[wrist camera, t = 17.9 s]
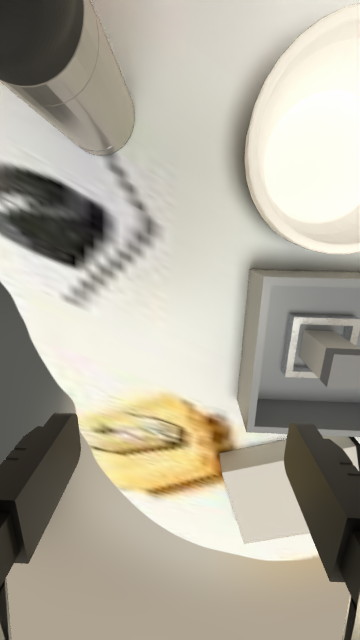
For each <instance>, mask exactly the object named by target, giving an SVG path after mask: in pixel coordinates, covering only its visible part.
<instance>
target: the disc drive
mask: <svg viewBox="0 0 360 640" xmlns="http://www.w3.org/2000/svg"><path fill="white" fill-rule="evenodd" d="M322 437H323V438H324V439H331V440H332V441H333V442H334V443H336V444H337V445H338V446H339V447H341V448H342V449H343V450H344V451H345V453H346V454H347V455H348V457H349V458H350V460H351V461H352V462H353V465H354V466H355V467H356V468H357V469H358V471H359V472H360V444H359V443H358V441H357V440H356V439H355V438H354V437H348V436H325V435H322ZM286 441H287V439H286V440H281V441H277V442H272V443H267V444H262V445H257V446H252V447H248V448H243V449H238V450H233V451H228V452H223V453H219V455H220V462H221V470H222V475H223V478H224V481H225V484H226V488H227V491H228V494H229V497H230V500H231V504H232V507H233V510H234V513H235V516H236V520H237V523H238V526H239V529H240V533H241V536H242V539H243V542H244V544H247V543H253V542H259V541H265V540H271V539H277V538H283V537H289V536H295V535H301V534H307V533H310V531H309V529H308V526H307V524H306V521H305V519H304V517H303V514H302V512H301V509H300V507H299V504H298V502H297V499H296V497H295V494H294V492H293V489H292V487H291V485H290V482H289V480H288V477H287V475H286V471H285V466H284V453H285V447H286Z"/></svg>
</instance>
